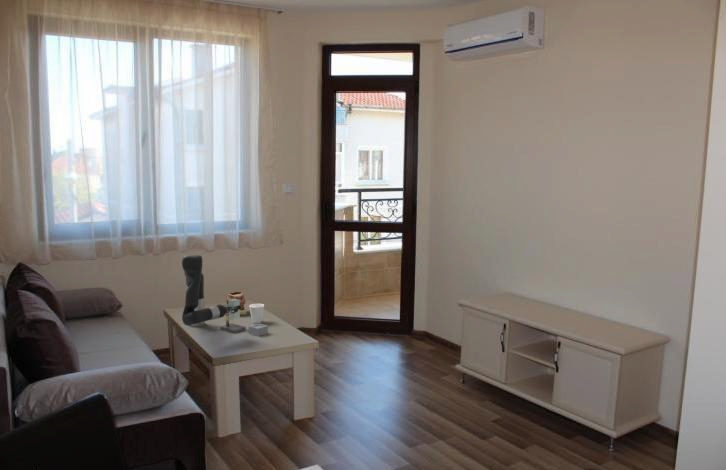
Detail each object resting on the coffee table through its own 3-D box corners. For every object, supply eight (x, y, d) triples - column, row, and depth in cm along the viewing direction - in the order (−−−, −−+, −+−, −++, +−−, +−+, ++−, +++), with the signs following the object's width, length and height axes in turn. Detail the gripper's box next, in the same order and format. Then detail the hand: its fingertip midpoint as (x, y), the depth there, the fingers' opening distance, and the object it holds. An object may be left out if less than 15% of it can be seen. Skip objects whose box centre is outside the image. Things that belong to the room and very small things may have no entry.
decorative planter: (221, 310, 423) (220, 291, 421) (237, 308, 430) (237, 288, 428) (233, 317, 407) (233, 296, 405) (250, 314, 414) (250, 294, 412)
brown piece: (225, 325, 379) (224, 311, 378) (225, 324, 382) (225, 310, 381) (246, 325, 380) (245, 311, 379) (246, 324, 383) (246, 310, 382)
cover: (234, 319, 359) (233, 301, 358) (228, 318, 362) (228, 300, 361) (240, 317, 363) (239, 299, 362) (234, 316, 366) (234, 298, 364)
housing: (258, 336, 365) (258, 328, 365) (248, 333, 370) (248, 326, 369) (267, 333, 372) (267, 325, 371) (258, 330, 376) (258, 323, 376)
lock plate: (220, 329, 379) (220, 326, 378) (231, 326, 386) (231, 323, 385) (234, 333, 371) (234, 330, 370) (245, 329, 378) (245, 326, 378)
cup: (261, 324, 389) (261, 307, 388) (246, 323, 391) (246, 307, 390) (267, 320, 399) (266, 304, 398) (252, 319, 401) (252, 303, 400)
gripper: (223, 307, 346) (245, 302, 359) (206, 304, 354) (229, 298, 368) (223, 320, 347) (246, 314, 360) (207, 316, 355) (229, 310, 369)
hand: (237, 306), depth 364 cm, fingers closed on cover, 4 cm apart
